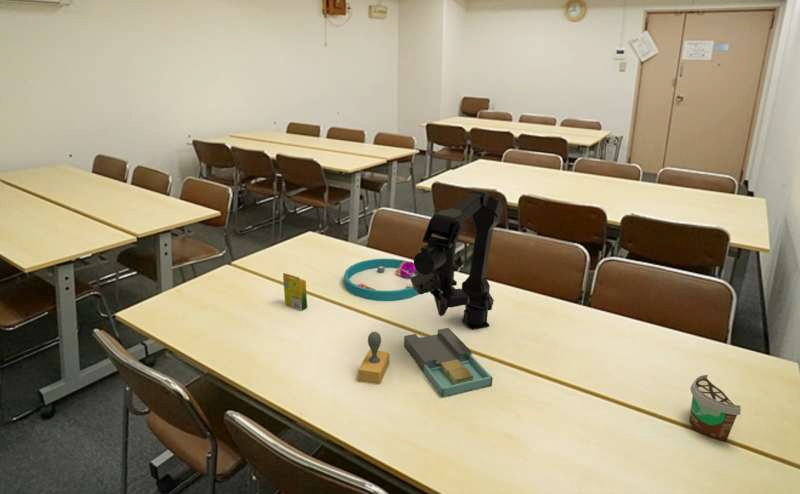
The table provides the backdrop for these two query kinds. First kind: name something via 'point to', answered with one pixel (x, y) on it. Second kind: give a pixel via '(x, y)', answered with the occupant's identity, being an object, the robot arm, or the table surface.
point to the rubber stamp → (374, 361)
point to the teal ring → (381, 265)
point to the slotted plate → (436, 348)
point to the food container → (711, 410)
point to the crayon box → (295, 292)
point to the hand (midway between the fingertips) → (441, 315)
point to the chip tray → (447, 388)
